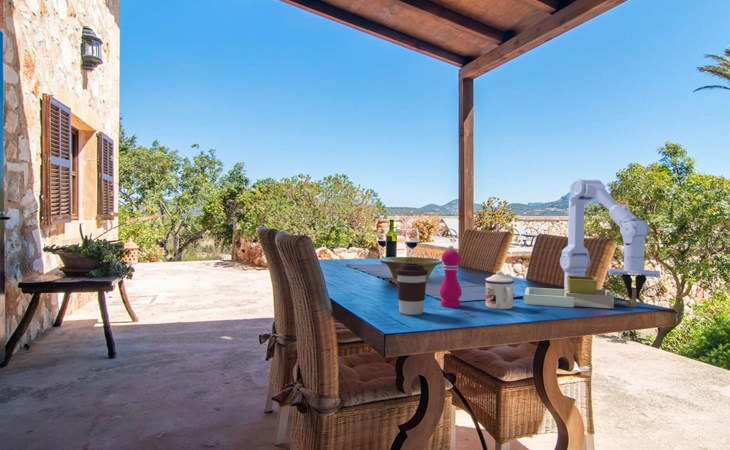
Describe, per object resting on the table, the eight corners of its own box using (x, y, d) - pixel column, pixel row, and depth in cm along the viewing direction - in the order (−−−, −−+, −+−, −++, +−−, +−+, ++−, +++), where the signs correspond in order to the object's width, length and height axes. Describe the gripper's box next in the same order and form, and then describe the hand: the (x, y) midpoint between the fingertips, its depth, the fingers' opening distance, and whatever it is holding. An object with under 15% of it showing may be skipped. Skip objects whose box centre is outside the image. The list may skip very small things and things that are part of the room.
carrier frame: (564, 298, 164) (564, 281, 164) (631, 302, 156) (631, 285, 156) (566, 305, 151) (566, 287, 151) (639, 310, 143) (639, 291, 143)
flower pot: (597, 307, 149) (597, 280, 149) (568, 305, 152) (568, 278, 152) (593, 302, 157) (594, 276, 157) (566, 300, 160) (566, 275, 160)
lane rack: (526, 295, 170) (526, 287, 170) (570, 298, 165) (570, 289, 165) (524, 304, 154) (524, 294, 154) (573, 307, 149) (573, 297, 148)
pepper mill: (460, 303, 154) (460, 245, 154) (462, 308, 147) (463, 246, 147) (438, 303, 155) (439, 244, 154) (440, 307, 148) (440, 246, 147)
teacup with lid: (480, 304, 153) (480, 270, 153) (504, 303, 155) (505, 269, 154) (497, 312, 141) (497, 274, 141) (523, 310, 143) (524, 273, 143)
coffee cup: (401, 317, 133) (401, 266, 133) (390, 310, 143) (391, 262, 142) (432, 315, 136) (433, 265, 136) (420, 308, 145) (420, 262, 145)
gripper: (610, 257, 149) (610, 298, 149) (662, 258, 143) (662, 301, 143) (608, 255, 155) (607, 295, 155) (657, 256, 150) (656, 297, 150)
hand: (633, 298), depth 150 cm, fingers closed
